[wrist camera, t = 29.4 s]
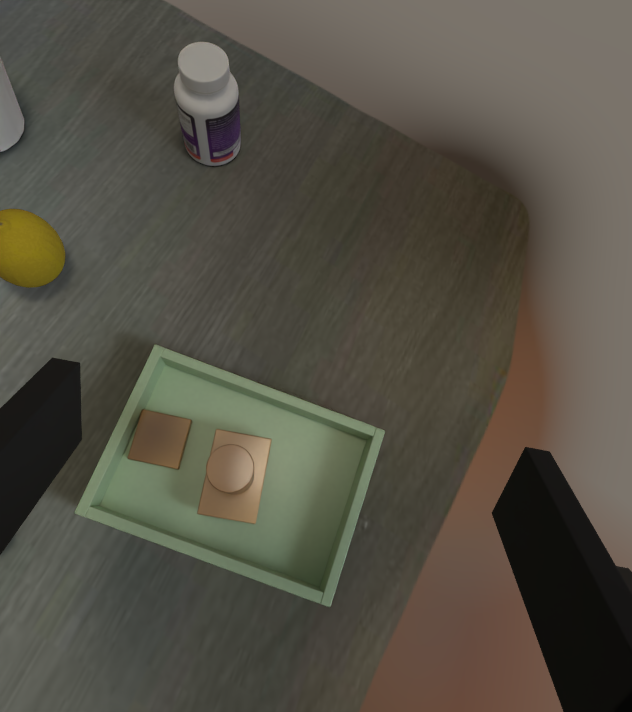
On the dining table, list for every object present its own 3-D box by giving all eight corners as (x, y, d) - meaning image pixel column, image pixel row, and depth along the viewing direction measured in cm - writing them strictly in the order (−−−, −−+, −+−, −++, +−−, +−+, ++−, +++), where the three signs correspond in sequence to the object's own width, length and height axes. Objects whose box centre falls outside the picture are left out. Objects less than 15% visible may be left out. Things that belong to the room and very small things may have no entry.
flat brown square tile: (192, 420, 42) (191, 419, 41) (179, 470, 40) (177, 469, 40) (144, 410, 41) (141, 408, 41) (129, 459, 40) (126, 458, 39)
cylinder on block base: (271, 442, 42) (277, 421, 31) (255, 522, 40) (256, 531, 29) (217, 432, 42) (205, 408, 31) (199, 513, 40) (179, 518, 29)
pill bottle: (245, 126, 50) (243, 41, 41) (235, 172, 49) (231, 95, 40) (190, 115, 50) (175, 28, 41) (179, 162, 48) (161, 81, 39)
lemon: (11, 305, 43) (-41, 263, 35) (8, 246, 44) (-43, 193, 37) (80, 296, 44) (43, 253, 36) (75, 239, 45) (39, 186, 38)
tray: (376, 435, 44) (385, 430, 41) (324, 600, 40) (330, 607, 37) (161, 354, 43) (154, 344, 40) (86, 512, 39) (73, 513, 36)
